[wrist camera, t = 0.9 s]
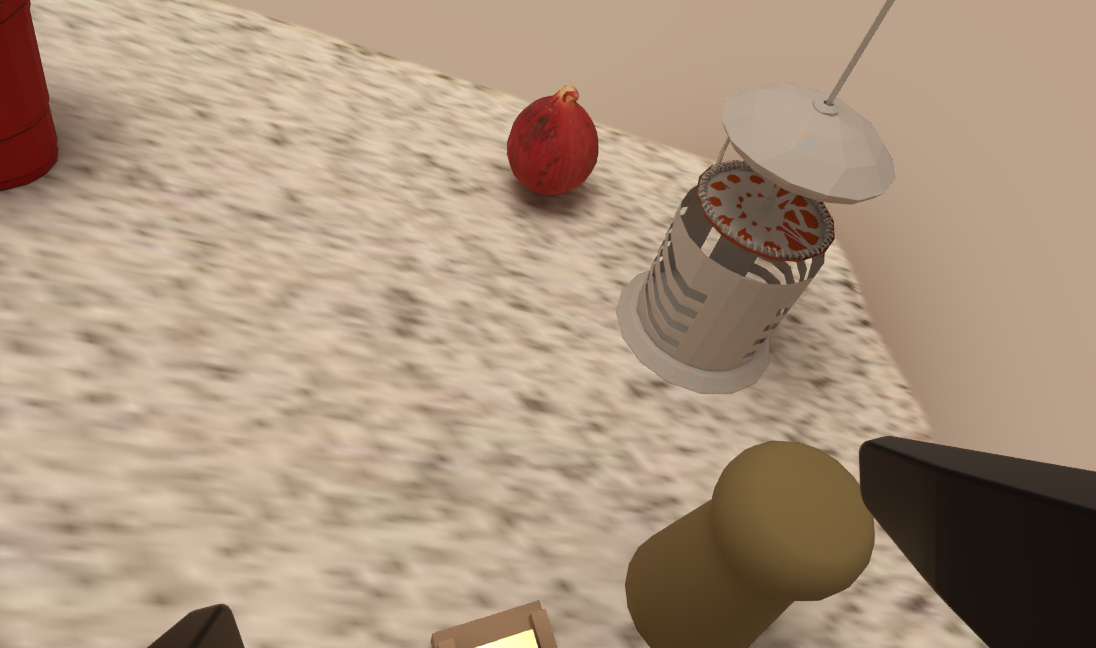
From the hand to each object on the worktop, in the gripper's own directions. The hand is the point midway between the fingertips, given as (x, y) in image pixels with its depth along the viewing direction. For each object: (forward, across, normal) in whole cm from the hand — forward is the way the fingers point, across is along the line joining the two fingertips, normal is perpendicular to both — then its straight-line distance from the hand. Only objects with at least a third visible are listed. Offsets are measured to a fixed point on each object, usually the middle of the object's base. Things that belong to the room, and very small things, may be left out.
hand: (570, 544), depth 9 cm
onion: (+36, -7, -2) cm, 37 cm away
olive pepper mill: (+16, -7, +15) cm, 23 cm away
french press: (+29, -13, +6) cm, 32 cm away
